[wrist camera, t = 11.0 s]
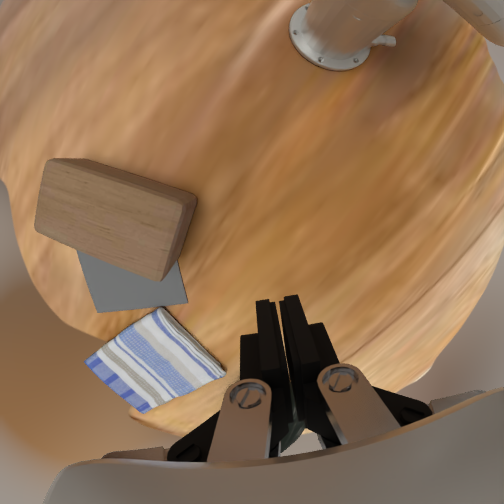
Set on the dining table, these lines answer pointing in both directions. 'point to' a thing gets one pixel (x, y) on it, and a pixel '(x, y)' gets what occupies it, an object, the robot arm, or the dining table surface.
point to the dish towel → (154, 362)
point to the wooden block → (114, 215)
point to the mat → (129, 287)
